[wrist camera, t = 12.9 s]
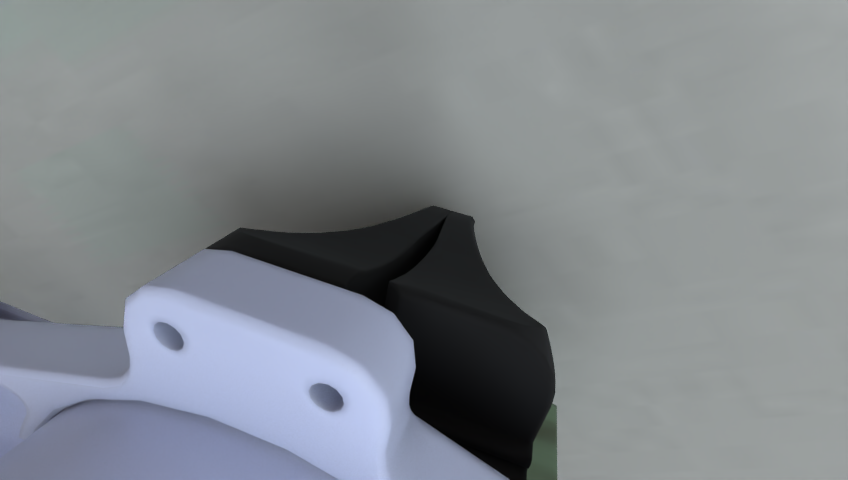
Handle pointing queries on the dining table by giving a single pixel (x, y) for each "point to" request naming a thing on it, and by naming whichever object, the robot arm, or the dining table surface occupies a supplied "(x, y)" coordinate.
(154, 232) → the dining table surface
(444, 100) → the dining table surface
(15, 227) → the dining table surface
